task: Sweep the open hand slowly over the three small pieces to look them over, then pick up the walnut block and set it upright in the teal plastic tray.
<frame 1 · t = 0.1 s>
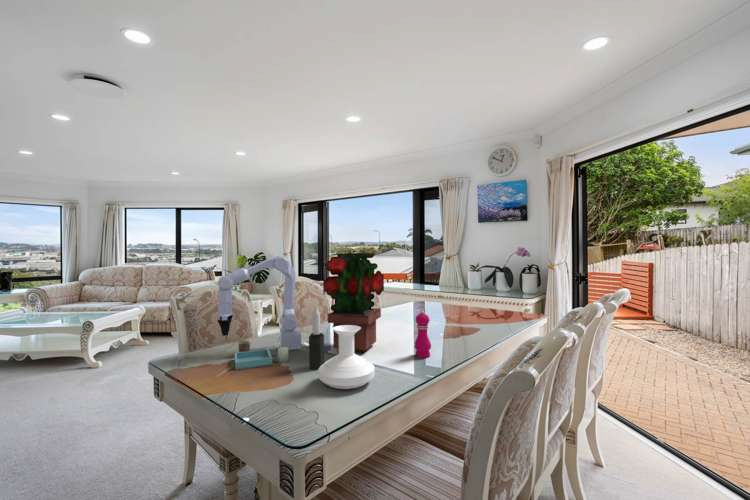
hand: (225, 333, 156), 10 cm above the table, tool pointing down, fingers open, 7 cm apart
potted plant: (355, 348, 166), on the table
candle: (316, 367, 140), on the table
tray: (253, 362, 147), on the table
sage cylinder: (283, 360, 150), on the table
walnut block: (244, 355, 157), on the table
pepper mill: (422, 356, 154), on the table
slate block: (270, 354, 158), on the table
white vase: (346, 383, 124), on the table
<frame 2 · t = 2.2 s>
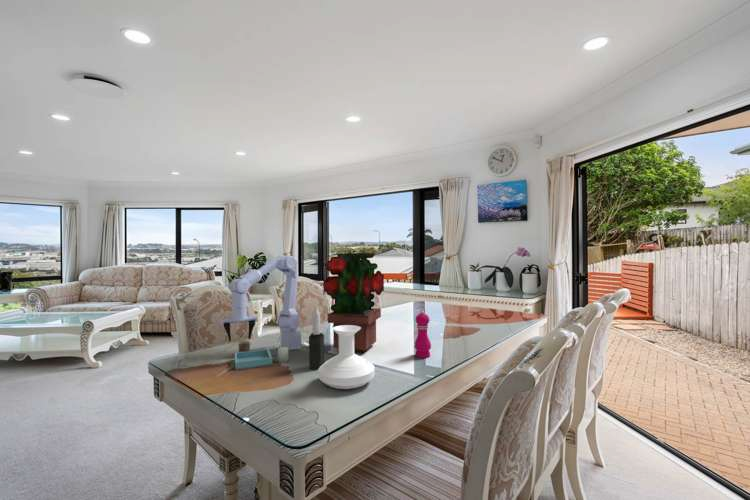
hand: (239, 339, 148), 9 cm above the table, tool pointing down, fingers open, 7 cm apart
nothing on the table moved.
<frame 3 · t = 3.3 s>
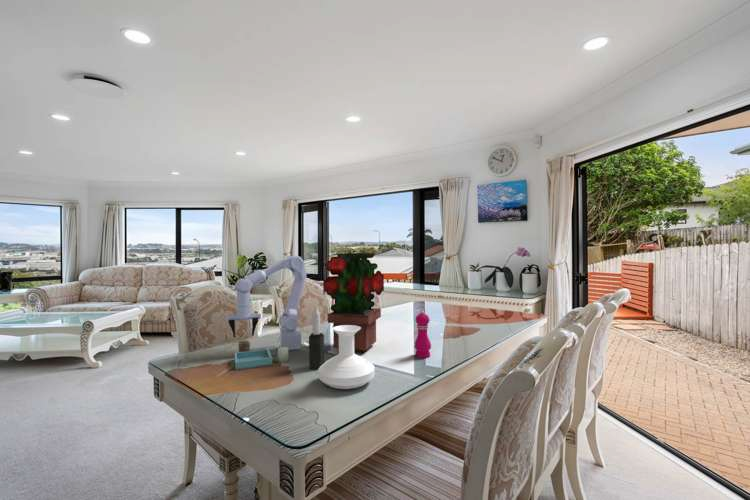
hand: (243, 336, 157), 9 cm above the table, tool pointing down, fingers open, 7 cm apart
nothing on the table moved.
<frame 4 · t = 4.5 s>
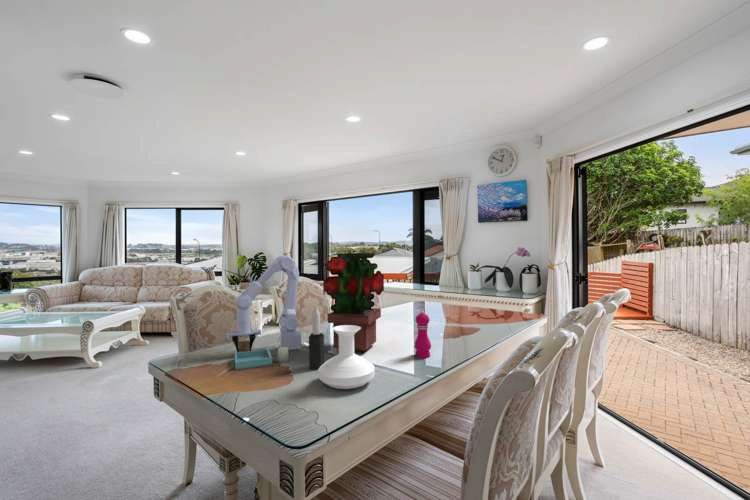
hand: (244, 352, 157), 1 cm above the table, tool pointing down, fingers closed on walnut block, 4 cm apart
walnut block: (244, 355, 157), on the table, touching gripper
everything else where it was.
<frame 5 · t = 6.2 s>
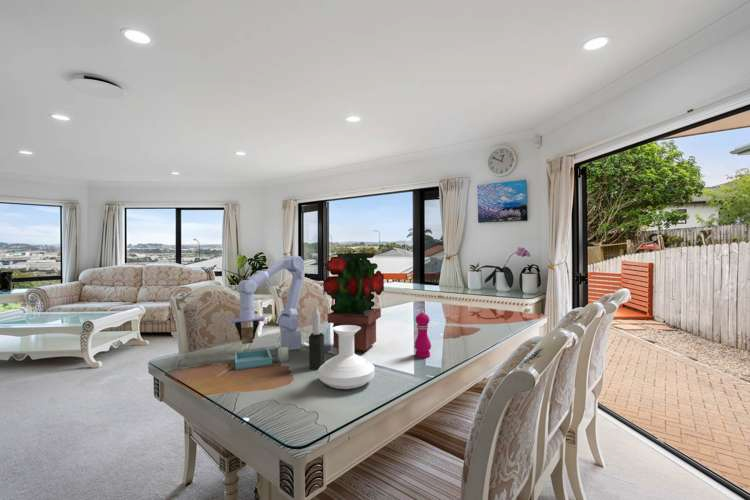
hand: (247, 338, 153), 8 cm above the table, tool pointing down, fingers closed on walnut block, 4 cm apart
walnut block: (247, 342, 153), point 7 cm above the table, touching gripper
everything else where it was.
when the fingers open (4 cm above the table, at t = 8.0 s): walnut block drops 2 cm, resting on tray.
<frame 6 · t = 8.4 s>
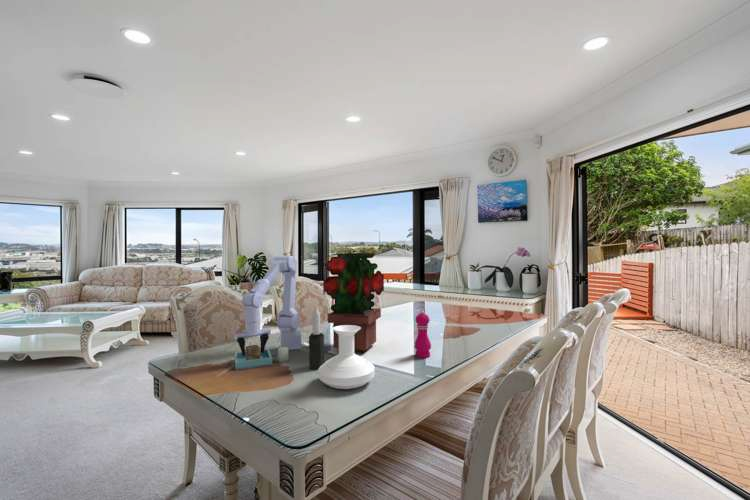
hand: (252, 353, 147), 4 cm above the table, tool pointing down, fingers open, 7 cm apart
walnut block: (252, 360, 147), point 1 cm above the table, touching tray
everything else where it was.
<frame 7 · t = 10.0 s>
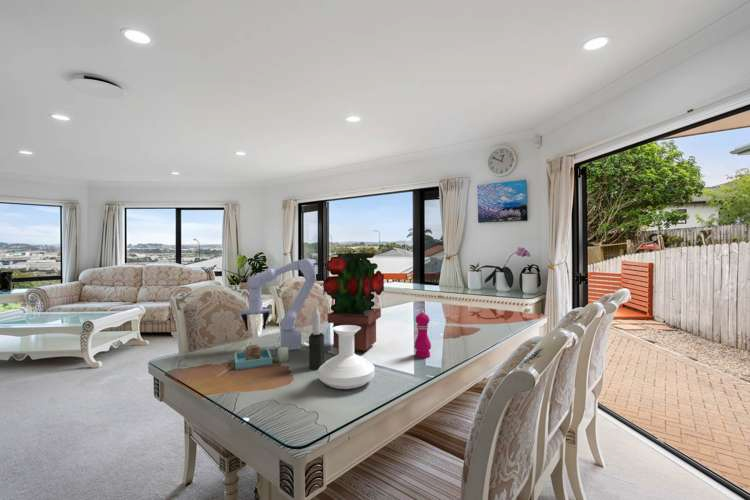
hand: (255, 329, 166), 9 cm above the table, tool pointing down, fingers open, 7 cm apart
nothing on the table moved.
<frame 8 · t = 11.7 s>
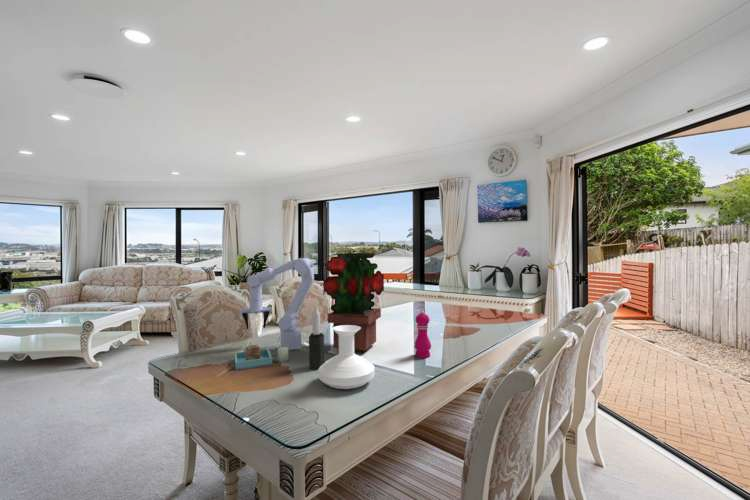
hand: (256, 327, 169), 9 cm above the table, tool pointing down, fingers open, 7 cm apart
nothing on the table moved.
at the end: walnut block inside the target area on the tray (0.2 cm from its centre), point 0.6 cm above the tray's base; walnut block tilted 0°; the gripper is holding nothing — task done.
